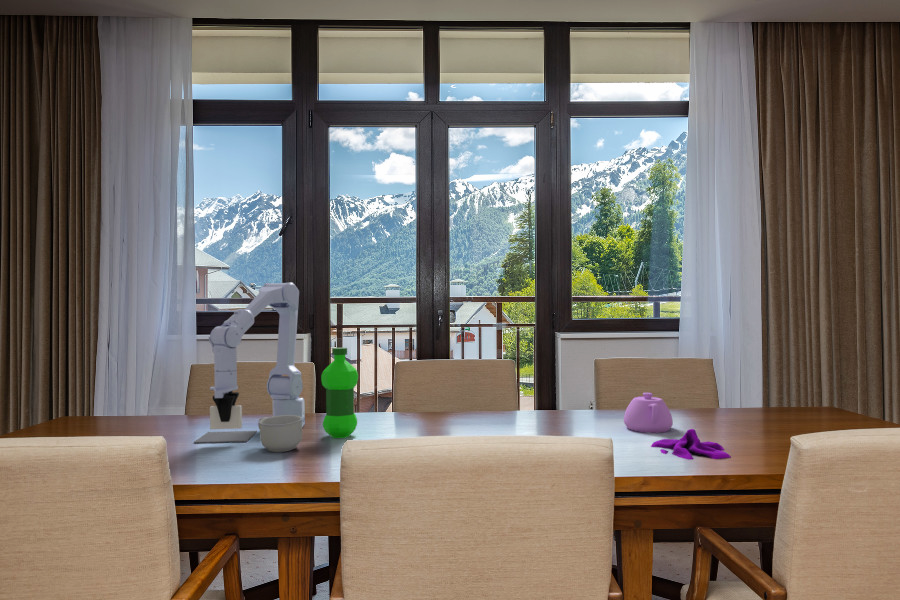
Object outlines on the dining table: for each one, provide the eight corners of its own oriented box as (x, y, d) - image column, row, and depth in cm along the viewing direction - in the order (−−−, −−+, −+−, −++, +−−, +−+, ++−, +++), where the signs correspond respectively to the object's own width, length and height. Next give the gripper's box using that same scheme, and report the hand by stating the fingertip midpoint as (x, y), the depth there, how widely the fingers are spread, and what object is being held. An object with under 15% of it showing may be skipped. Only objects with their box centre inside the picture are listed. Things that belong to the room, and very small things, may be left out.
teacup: (310, 449, 163) (309, 418, 163) (271, 456, 155) (271, 424, 155) (283, 441, 173) (283, 412, 173) (246, 447, 165) (246, 417, 165)
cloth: (646, 442, 170) (645, 420, 170) (719, 445, 166) (718, 422, 166) (656, 463, 148) (656, 437, 148) (741, 467, 144) (740, 440, 144)
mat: (256, 432, 184) (256, 430, 184) (246, 442, 172) (246, 440, 172) (207, 433, 183) (207, 432, 183) (193, 443, 170) (193, 442, 170)
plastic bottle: (318, 434, 181) (317, 347, 181) (353, 431, 185) (353, 346, 185) (325, 441, 171) (325, 350, 171) (363, 437, 176) (362, 348, 176)
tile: (242, 427, 171) (241, 405, 171) (240, 428, 169) (240, 406, 169) (211, 428, 170) (211, 406, 170) (210, 429, 169) (209, 407, 168)
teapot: (662, 421, 195) (661, 387, 195) (681, 435, 175) (680, 397, 175) (617, 421, 196) (616, 387, 196) (630, 435, 176) (630, 397, 176)
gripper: (218, 367, 176) (218, 416, 177) (202, 374, 162) (202, 426, 162) (243, 367, 177) (244, 415, 177) (230, 373, 163) (230, 425, 163)
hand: (226, 420), depth 170 cm, fingers closed on tile, 2 cm apart
